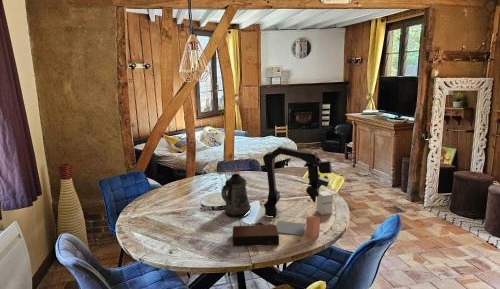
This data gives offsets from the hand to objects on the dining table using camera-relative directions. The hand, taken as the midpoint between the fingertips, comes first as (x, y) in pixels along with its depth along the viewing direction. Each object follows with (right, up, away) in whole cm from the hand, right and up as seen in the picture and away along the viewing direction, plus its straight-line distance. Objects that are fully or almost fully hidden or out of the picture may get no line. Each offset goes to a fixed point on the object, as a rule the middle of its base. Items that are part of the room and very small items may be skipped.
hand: (316, 199), depth 194 cm
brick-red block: (-4, -17, -13) cm, 22 cm away
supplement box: (+8, -11, +16) cm, 21 cm away
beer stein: (-46, -12, +16) cm, 50 cm away
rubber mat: (-16, -16, -5) cm, 23 cm away
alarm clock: (-35, -19, -17) cm, 44 cm away
